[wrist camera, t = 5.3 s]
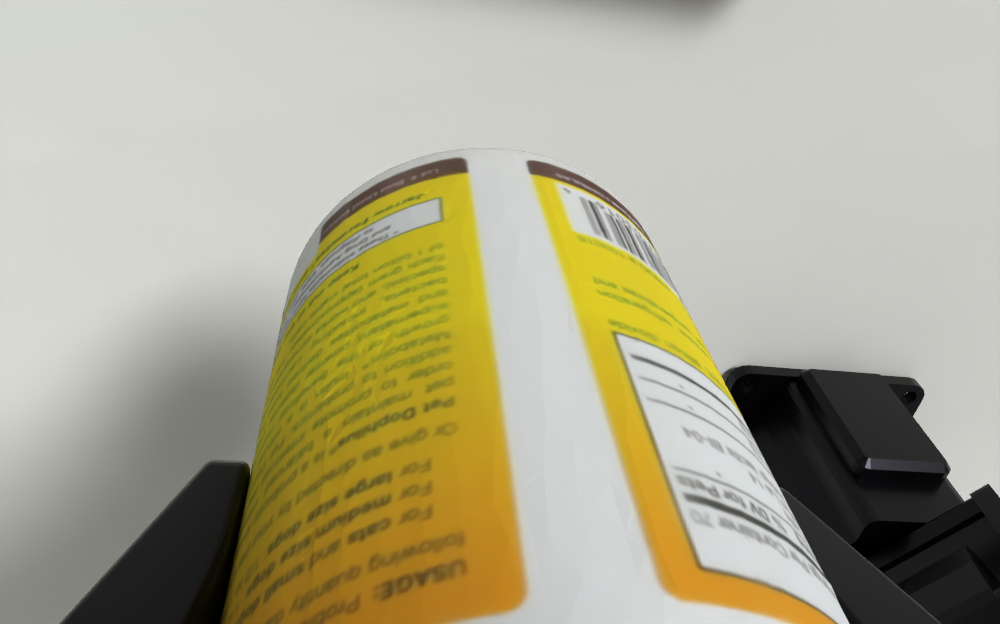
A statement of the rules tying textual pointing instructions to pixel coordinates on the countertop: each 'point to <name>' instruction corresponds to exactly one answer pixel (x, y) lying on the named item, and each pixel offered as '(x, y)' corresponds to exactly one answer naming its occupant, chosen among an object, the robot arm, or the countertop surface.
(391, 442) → the supplement bottle
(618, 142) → the countertop surface
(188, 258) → the countertop surface
